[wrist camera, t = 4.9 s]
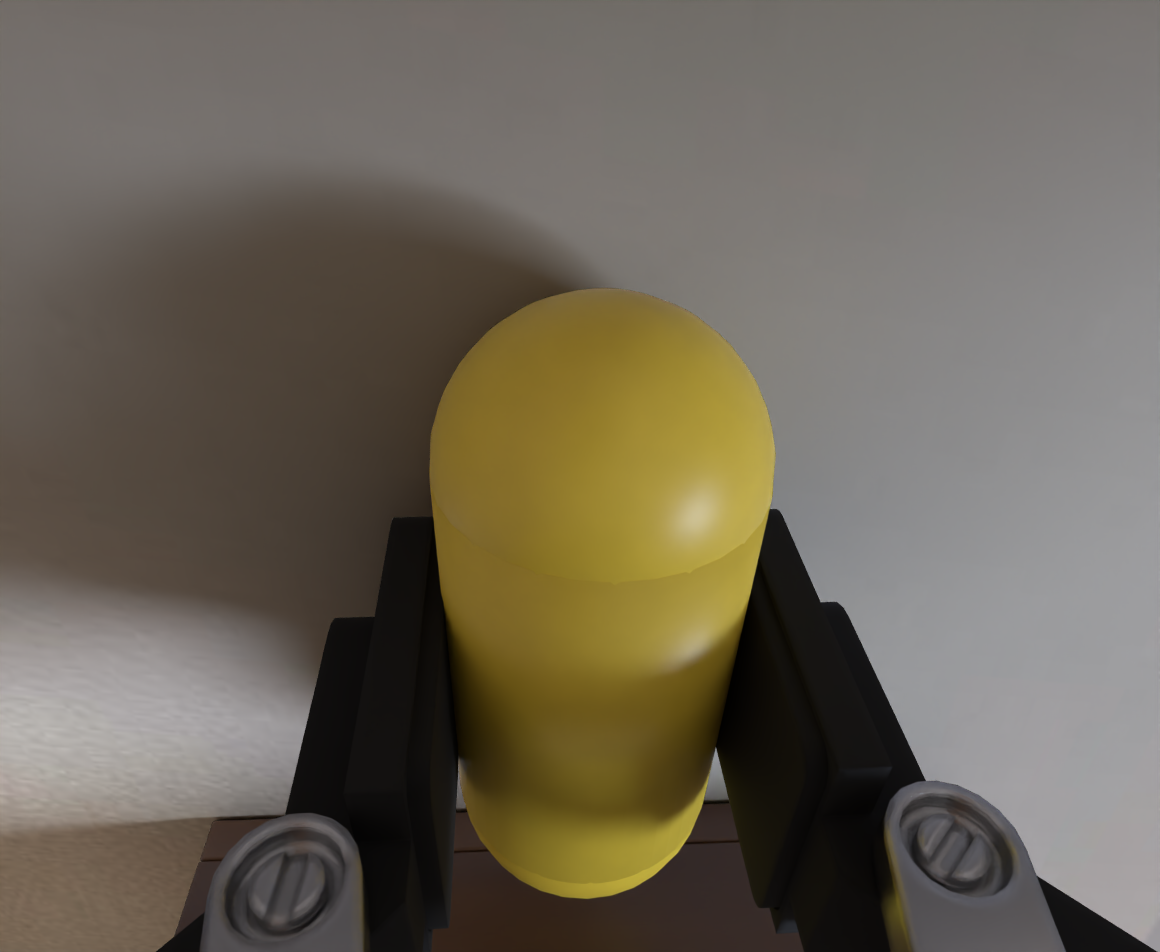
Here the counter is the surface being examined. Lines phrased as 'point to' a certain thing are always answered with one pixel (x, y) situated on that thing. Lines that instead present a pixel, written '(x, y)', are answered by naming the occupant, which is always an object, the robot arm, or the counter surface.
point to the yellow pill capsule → (595, 577)
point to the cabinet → (580, 900)
